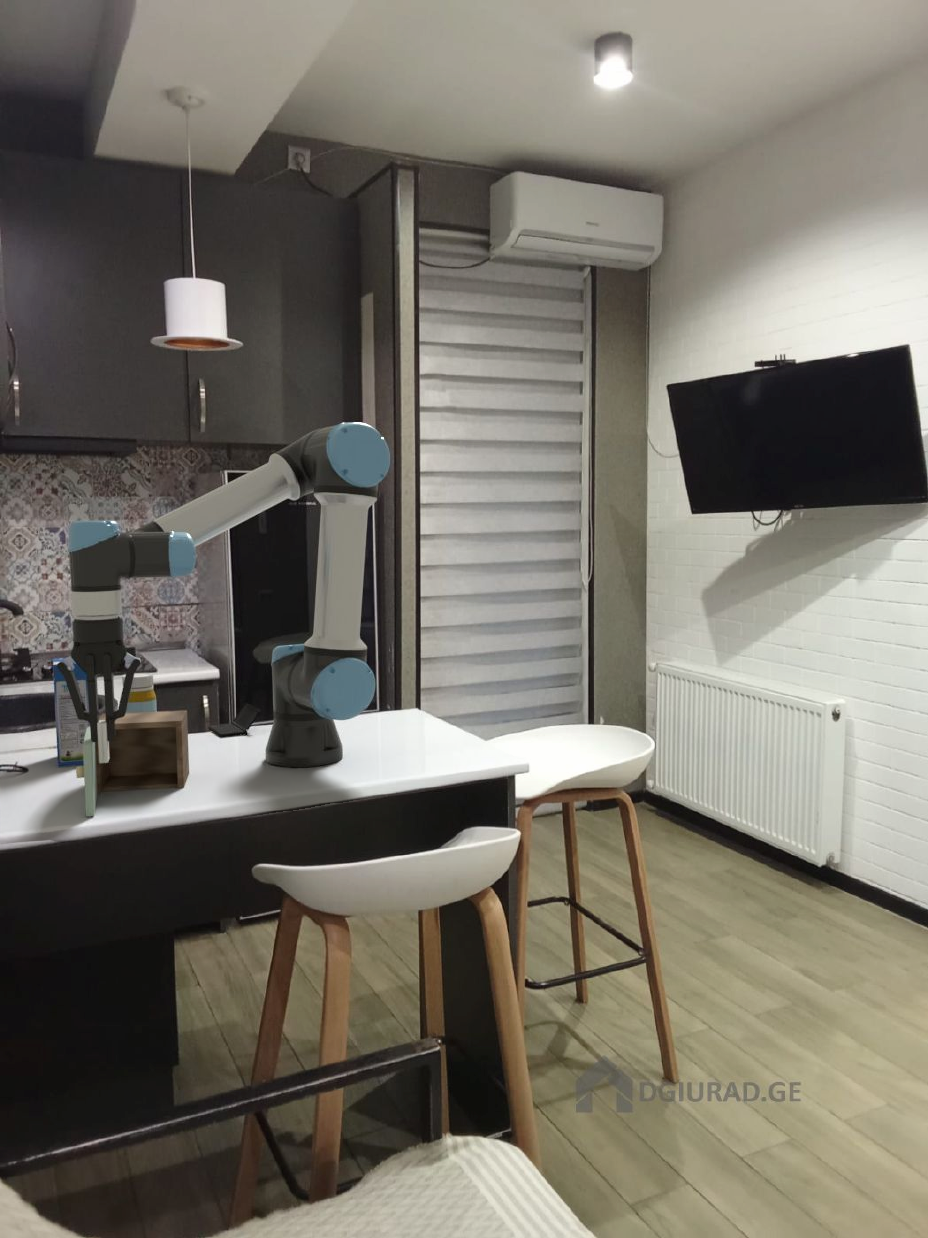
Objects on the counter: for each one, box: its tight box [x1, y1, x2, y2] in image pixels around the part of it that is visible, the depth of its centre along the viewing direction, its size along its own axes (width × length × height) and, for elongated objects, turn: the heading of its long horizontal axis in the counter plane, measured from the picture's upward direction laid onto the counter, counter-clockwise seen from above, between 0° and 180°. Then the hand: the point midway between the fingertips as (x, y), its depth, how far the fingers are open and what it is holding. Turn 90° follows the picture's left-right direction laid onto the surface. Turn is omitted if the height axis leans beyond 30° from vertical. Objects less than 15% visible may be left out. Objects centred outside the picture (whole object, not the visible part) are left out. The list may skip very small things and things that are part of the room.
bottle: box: [121, 672, 158, 713], centre depth 203 cm, size 7×7×15 cm
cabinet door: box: [75, 726, 98, 817], centre depth 159 cm, size 15×2×12 cm, turn 19°
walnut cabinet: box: [95, 709, 190, 793], centre depth 173 cm, size 15×10×12 cm, turn 101°
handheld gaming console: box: [207, 702, 261, 738], centre depth 217 cm, size 12×7×10 cm
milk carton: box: [52, 657, 90, 768], centre depth 190 cm, size 10×6×20 cm, turn 23°
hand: (104, 760), depth 156 cm, fingers closed
